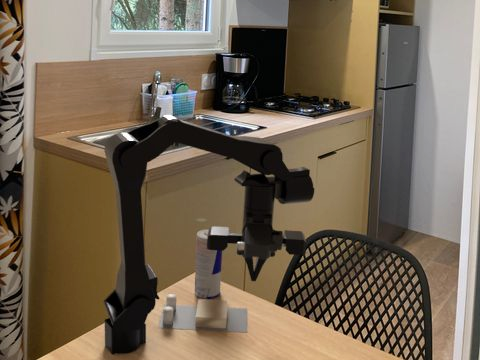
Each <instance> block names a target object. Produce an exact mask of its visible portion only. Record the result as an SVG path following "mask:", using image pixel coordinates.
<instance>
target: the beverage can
mask: <svg viewBox="0 0 480 360" xmlns="http://www.w3.org/2000/svg"><path fill="white" fill-rule="evenodd" d="M208 231H209V229H201V230H199V231H198V232H197V233H196V241H195V242H196V244H195V245H196V246H195V272H194V273H195V274H194V276H195V278H194V295H195V296H196V297H198V299H207V300H214V299H216V298H218V297H219V296H220V295H221V286H222V285H221V280H222V263H223V262H222V261H223V258H222V257H223V251H218V250H209V249H207V237H208Z"/></svg>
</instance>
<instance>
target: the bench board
mask: <svg viewBox="0 0 480 360" xmlns="http://www.w3.org/2000/svg"><path fill="white" fill-rule="evenodd" d="M196 312H197V305H183V304H177V295H176V294H174V293H171V294H170V293H169V294H167V295H166V302H165V304H163V306H162V311H161V315H160V317H159V318H160V319H159V322H158V324H157V325H158V326H157V329H165V330H166V329H168V330H169V329H170V330H185V331H186V330H188V331H189V330H190V331H191V330H192V331H206V332H207V331H208V332H210V331H211V332H224V333H225V332H230V333H248V308H246V307H245V308H244V307H243V308H242V307H227V320H226V328H207V327H195V322H196Z"/></svg>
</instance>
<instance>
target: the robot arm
mask: <svg viewBox="0 0 480 360" xmlns="http://www.w3.org/2000/svg"><path fill="white" fill-rule="evenodd" d="M176 143H177V144H181V145H183V146H188V147H191V148H194V149H199V150H202V151H205V152H208V153H212V154H215V155H218V156H222V157H226V158H230V159H233V160H235V161H236V162H238V163H241V164H242V165H244V166H246V167H248V168H250V169H251V170H253V171H256V172H258V173H250V172H248V171H247V170H246V169H243V170H242V172H241V173H240V174H238V175H237V176H236V177H235V178H234V182H235V183H237V184H238V185H240V186H241V187H244V196H243V197H244V199H243V208H242V209H243V212H242V228H241V233H233V232H232V233H231V232H230V233H229V231H230V227H229V226H218V225H217V226H214V225H211V226H210V227H209V228H208V230H209V231H208V237H207V249H209V250H218V251H222V252H224V251H225V250H226V249H227V248H228V247H229V245H228V244H232V245H233V244H235V245H236V254H237V255H238V256H242V258H243V259H244V261H245V263H246V266H247V269H248V273H249V276H250V281H251V282H256V281H257V279H258V277H259V275H260V273H261V270H262V269H263V266H264V265H265V263H266V261H267V260H268V259H270V258H273V257H276V253H277V251H282V249H283V247H285V252H287V254H288V255H290V256H291V255H292V256H304V255H306V253H307V240H306V237H305V234H304V233H303V232H302V231H301V230H287V229H286V230H284V231H282V230H276V229H274V227H273V226H274V225H273V222H274V211H275V200H277V202H279V204H281V205H287V204H288V205H289V204H291V205H292V204H298V203H299V204H300V203H309V202H311V201H312V199H313V198H314V195H315V187H314V182H313V180H312V177H311V175H310V174H311V172H310V171H311V170H310V169H309V168H307V167H306V166H300V167H296V168H288V167H287V165H286V164H285V162H284V159H283V157H284V156H283V152H282V148H280V147H279V146H278V145H276V144H274V143H272V142H269V140H265V139H264V138H261V137H258V136H247V135H246V136H245V135H241V136H239V135H238V136H237V135H231V134H227V133H224V132H220V131H217V130H215V129H211V128H208V127H206V126H205V127H204V126H202V125H199V124H195V123H193V122H189V121H186V120H183V119H179V118H177V117H175V116H174V115H172V114H171V115H169V114H166V115H162V116H161V117H159V118H158V119H156V120H154V121H151V122H149V123H145V124H143V125H140V126H136V127H135V128H133V129H131V130H129V131H127V132H117V133H114V134H113V135H111V136H110V137H109V138H108V140H107V141H105V144H104V156H105V160H106V162H107V167H108V169H109V172H110V175H111V178H112V181H113V184H114V189H115V198H116V209H117V211H116V212H117V224H118V225H117V227H118V238H119V239H118V240H119V251H120V265H119V268H118V271H117V274H116V282H115V289H113V290H112V291H111V293H109V295H107V296H106V298H105V299H104V300H103V304H104V307H105V309H106V312H107V315H108V318H106V319H104V347H105V348H106V349H107V350H108V353H109V352H110V354H111V355H116V354H119V355H126V354H131V353H134V352H135V351H137V350H138V349H139V348H140V347H141V346H143V345H144V344H146V342H147V324H146V320H147V319H148V316H149V314H150V313H151V312H152V311H153V310H155V307H156V302H157V301H156V300H160V297H159V295H158V284H159V283H158V282H159V281H158V277H157V276H156V273H155V272H154V270H153V269H152V267H151V265H150V264H146V255H145V237H144V234H145V233H144V219H143V217H144V216H143V204H142V203H143V202H142V201H143V200H142V188H143V185H144V183H145V181H146V180H145V179H146V177H147V171H148V170H147V169H148V164H149V162H151V161H153V160H155V159H157V158H158V157H160V155H162V154H163V153H164V152H165V151H166V150H167V149H168V148H170V147H171V146H173V145H174V144H176ZM271 175H272V176H271ZM254 258H256V259H255V262H254ZM254 263H255V264H254Z"/></svg>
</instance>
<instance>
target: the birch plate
mask: <svg viewBox="0 0 480 360" xmlns="http://www.w3.org/2000/svg"><path fill="white" fill-rule="evenodd" d="M196 306H197V312H196V322H195V327H207V328H226V320H227V308H228V300H224V299H222V300H221V299H202V298H198V300H197V305H196Z"/></svg>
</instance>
